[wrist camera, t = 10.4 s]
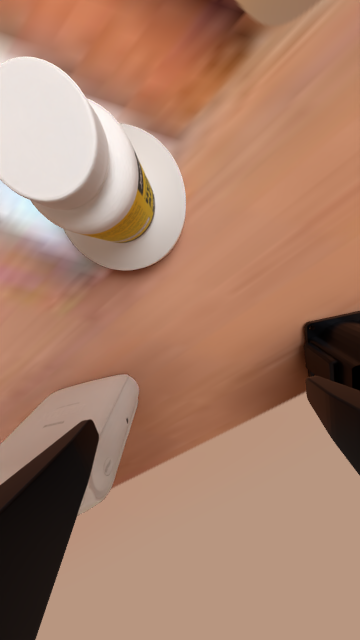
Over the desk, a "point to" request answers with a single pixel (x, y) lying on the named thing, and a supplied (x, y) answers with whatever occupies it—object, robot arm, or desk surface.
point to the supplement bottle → (70, 155)
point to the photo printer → (65, 413)
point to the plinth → (166, 218)
